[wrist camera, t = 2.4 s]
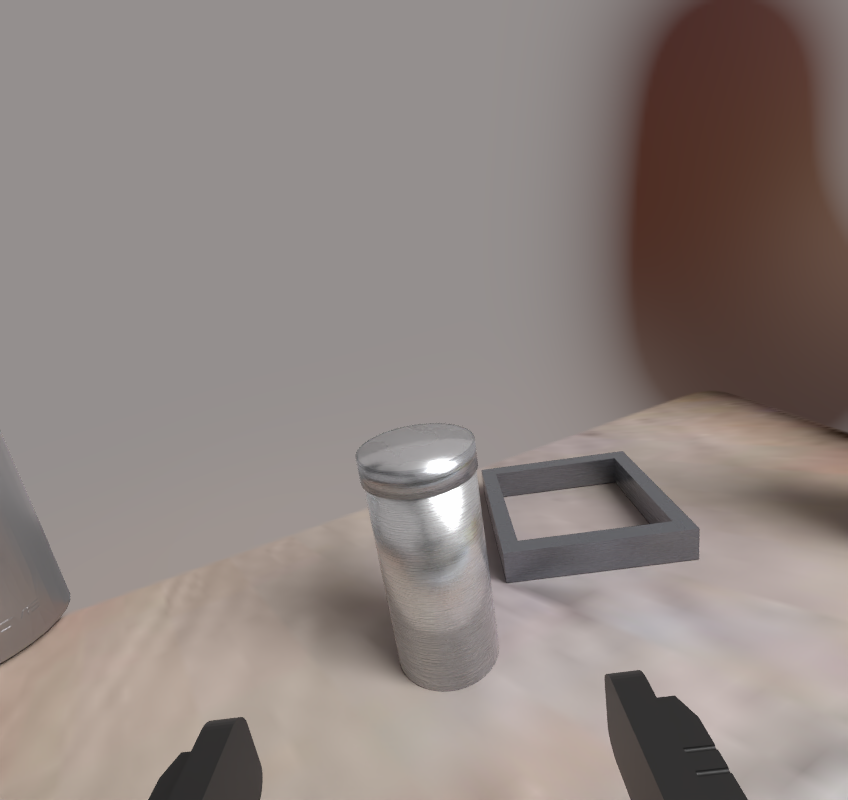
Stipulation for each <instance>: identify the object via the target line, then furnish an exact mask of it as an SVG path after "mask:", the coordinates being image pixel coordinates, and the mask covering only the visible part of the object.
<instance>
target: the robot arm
mask: <svg viewBox="0 0 848 800" xmlns="http://www.w3.org/2000/svg"><path fill="white" fill-rule="evenodd" d="M69 602H70V592H69V590H68V588H67V585H66V583H65V581H64V578H63V576H62V574H61V571H60V569H59V567H58V564H57V562H56V560H55V557H54V555H53V553H52V550H51V548H50V545H49V543H48V540H47V538H46V536H45V533H44V531H43V528H42V526H41V524H40V522H39V519H38V517H37V515H36V512H35V510H34V508H33V505H32V503H31V501H30V498H29V496H28V494H27V491H26V489H25V487H24V484H23V482H22V480H21V477H20V475H19V473H18V470H17V468H16V466H15V464H14V461H13V459H12V456H11V454H10V452H9V449H8V447H7V445H6V442H5V440H4V438H3V435H2V433H1V431H0V663H2V662H3V661H5V660H7V659H8V658H10V657H12V656H14V655H15V654H17V653H18V652H20V651H21V650H23V649H24V648H25V647H27V646H28V645H30V644H31V643H33V642H34V641H35V640H36V639H38V638H39V637H40V636H41V635H43V634H44V633H45V632H46V631H47V630H49V629H50V628H51V627H52V626H53V625H54V624H55V623H56V621H57V620H58V619H59V618H60V617H61V616H62V614H63V613H64V612H65V610H66V609H67V607H68V604H69ZM605 692H606V706H607V721H608V731H609V737H610V741H611V745H612V749H613V753H614V756H615V759H616V762H617V765H618V767H619V770H620V773H621V775H622V778H623V781H624V783H625V786H626V788H627V791H628V794H629V796H630V799H631V800H748V799H747V798H746V796H745V794H744V793H743V791H742V789H741V788H740V786H739V784H738V783H737V781H736V779H735V778H734V776H733V774H732V773H730V771H729V769H728V766H727V764H726V762H725V761H724V759H723V757H722V756H721V754H720V752H719V751H718V750H717V749H716V748H715V744H714V742H713V741H712V739H711V737H710V736H709V734H708V732H707V731H706V729H705V727H704V726H703V724H702V722H701V721H700V719H699V717H698V716H697V715H696V714H694V713H693V712H692V711H691V710H690V709H689V708H688V707H687V706H686V705H684V704H683V703H682V702H681V701H680V700H679V699H678V698H677V697H676V696H668V697H660V698H657V697H656V695H655V694H654V692H653V690H652V688H651V686H650V684H649V682H648V680H647V678H646V677H645V675H644V674H643V672H642V671H640V670H636V671H628V672H620V673H612V674H606V675H605ZM261 791H262V767H261V764H260V761H259V758H258V755H257V752H256V749H255V746H254V743H253V740H252V736H251V733H250V730H249V727H248V724H247V722H246V720H245V719H244V718H243V717H238V718H230V719H222V720H213V721H209V722H207V723H206V724H205V725H204V727H203V728H202V730H201V732H200V734H199V736H198V738H197V740H196V742H195V744H194V747H193V749H192V751H191V752H183V753H181V754H180V755H179V756H178V757H177V758H176V759H175V761H174V762H173V763H172V764H171V765H170V766H169V768H168V769H167V770H166V771H165V772H164V773H163V775H162V776H161V777H160V778H159V780H158V782H157V784H156V786H155V788H154V790H153V792H152V794H151V796H150V797H149V799H148V800H260V797H261Z"/></svg>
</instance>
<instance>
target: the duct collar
mask: <svg viewBox="0 0 848 800" xmlns="http://www.w3.org/2000/svg"><path fill="white" fill-rule="evenodd" d="M482 478H483V486H484V494H485V498H486V502H487V506H488V510H489V514H490V518H491V522H492V526H493V530H494V534H495V538H496V542H497V546H498V550H499V554H500V558H501V562H502V566H503V570H504V575H505V579H506V583H509V582H517V581H525V580H533V579H541V578H550V577H558V576H566V575H574V574H582V573H590V572H598V571H606V570H614V569H622V568H630V567H638V566H646V565H655V564H663V563H671V562H679V561H687V560H695V559H699V528H698V527H697V526H696V525H695V524H694V523H693V521H692V520H691V519H690V518H689V517H688V516H687V515H686V514H685V513H684V512H683V511H682V510H681V509H680V508H679V507H678V506H677V505H676V504H675V503H674V502H673V501H672V500H671V499H670V498H669V497H668V496H667V495H666V494H665V493H664V492H663V491H662V490H661V489H660V488H659V487H658V486H657V485H656V484H655V483H654V482H653V481H652V480H651V479H650V478H649V477H648V476H647V475H646V474H645V473H644V472H643V471H642V470H641V469H640V468H639V467H638V466H637V465H636V464H635V463H634V462H633V461H632V460H631V459H630V458H629V457H628V456H627V455H626V454H625V453H624V452H623V451H621V452H613V453H606V454H598V455H591V456H583V457H576V458H569V459H561V460H554V461H546V462H539V463H531V464H524V465H516V466H509V467H502V468H494V469H487V470H482ZM611 482H616V483H617V485H618V486H619V487H620V488H621V489H622V491H623V492H624V493H625V494H626V495H627V497H628V498H629V499H630V500H631V501H632V503H633V504H634V505H635V506H636V507H637V509H638V510H639V511H640V512H641V513H642V515H643V516H644V517H645V518H646V520H647V521H648V522H649V523H650V524H647V525H640V526H632V527H624V528H616V529H608V530H600V531H592V532H585V533H577V534H569V535H561V536H553V537H545V538H538V539H530V540H522V541H517V538H516V535H515V532H514V529H513V526H512V523H511V519H510V516H509V513H508V510H507V507H506V504H505V501H504V498H503V497H505V496H512V495H520V494H528V493H535V492H543V491H550V490H558V489H566V488H573V487H581V486H588V485H596V484H604V483H611Z"/></svg>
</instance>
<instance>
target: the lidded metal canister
mask: <svg viewBox="0 0 848 800" xmlns="http://www.w3.org/2000/svg"><path fill="white" fill-rule="evenodd" d="M356 461H357V466H358V471H359V476H360V481H361V485H362V487H363V489H364V490H365V493H366V499H367V503H368V508H369V513H370V518H371V523H372V528H373V533H374V538H375V543H376V548H377V553H378V557H379V562H380V567H381V572H382V577H383V582H384V587H385V592H386V597H387V602H388V606H389V611H390V616H391V621H392V626H393V631H394V636H395V641H396V646H397V650H398V655H399V660H400V665H401V667H402V669H403V671H404V673H405V674H406V675H407V677H408V678H409V679H410V680H411V681H413V682H414V683H416V684H417V685H419V686H421V687H423V688H426V689H430V690H435V691H453V690H459V689H462V688H466V687H468V686H470V685H472V684H474V683H476V682H478V681H479V680H481V679H482V678H483V677H484V676H485V675H486V674H488V672H489V671H490V670H491V669H492V667H493V666H494V664H495V662H496V660H497V657H498V652H499V643H498V635H497V627H496V619H495V611H494V604H493V596H492V588H491V580H490V573H489V565H488V557H487V549H486V541H485V534H484V526H483V518H482V510H481V502H480V495H479V487H478V479H477V471H476V470H477V468H478V461H477V453H476V445H475V438H474V435H473V434H472V432H471V431H469V430H468V429H466V428H464V427H461V426H457V425H451V424H442V423H441V424H440V423H432V424H431V423H430V424H418V425H412V426H407V427H402V428H398V429H394V430H391V431H388V432H385V433H382V434H380V435H378V436H376V437H374V438H372V439H370V440H368V441H367V442H365V443H364V444H363V445H362V446H361V447H360V448H359V449H358V450H357V452H356Z"/></svg>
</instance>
